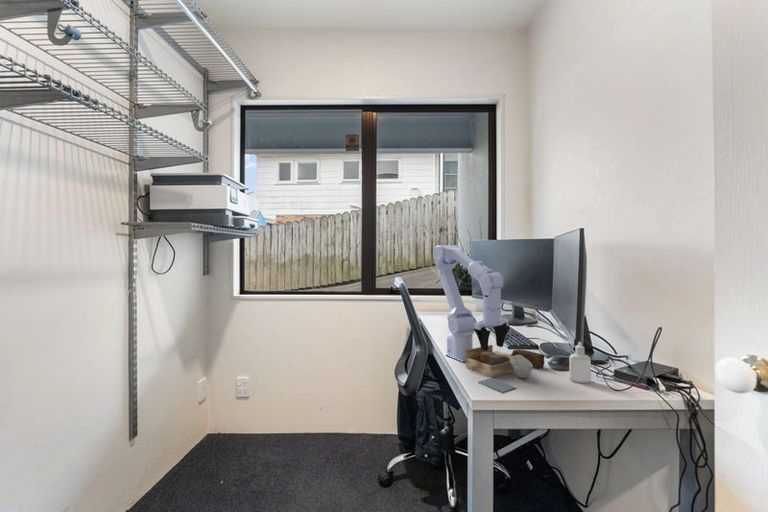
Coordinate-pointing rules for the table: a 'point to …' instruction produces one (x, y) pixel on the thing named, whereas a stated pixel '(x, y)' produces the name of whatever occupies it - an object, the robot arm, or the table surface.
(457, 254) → the robot arm
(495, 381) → the mat
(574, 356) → the eye dropper bottle
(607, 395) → the table surface
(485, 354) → the box
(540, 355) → the brick
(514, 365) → the grey faceted rock
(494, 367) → the carton
